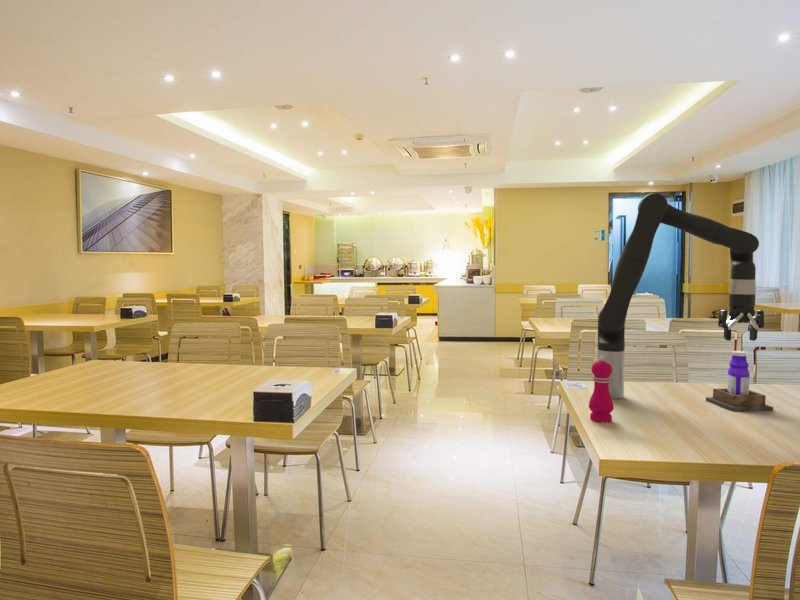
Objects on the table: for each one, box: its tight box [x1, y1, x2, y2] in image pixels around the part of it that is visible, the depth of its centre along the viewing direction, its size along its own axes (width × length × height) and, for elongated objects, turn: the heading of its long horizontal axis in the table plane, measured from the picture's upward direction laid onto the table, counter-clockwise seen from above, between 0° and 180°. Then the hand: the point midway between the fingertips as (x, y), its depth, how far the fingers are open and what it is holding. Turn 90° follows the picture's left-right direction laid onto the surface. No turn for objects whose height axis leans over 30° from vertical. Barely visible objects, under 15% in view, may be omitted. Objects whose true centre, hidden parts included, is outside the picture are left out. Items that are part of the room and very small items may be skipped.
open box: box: [705, 387, 774, 412], centre depth 181 cm, size 14×14×5 cm
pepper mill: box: [588, 356, 615, 424], centre depth 163 cm, size 7×7×20 cm
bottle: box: [727, 350, 751, 395], centre depth 180 cm, size 7×6×17 cm
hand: (740, 340), depth 180 cm, fingers open, 8 cm apart
